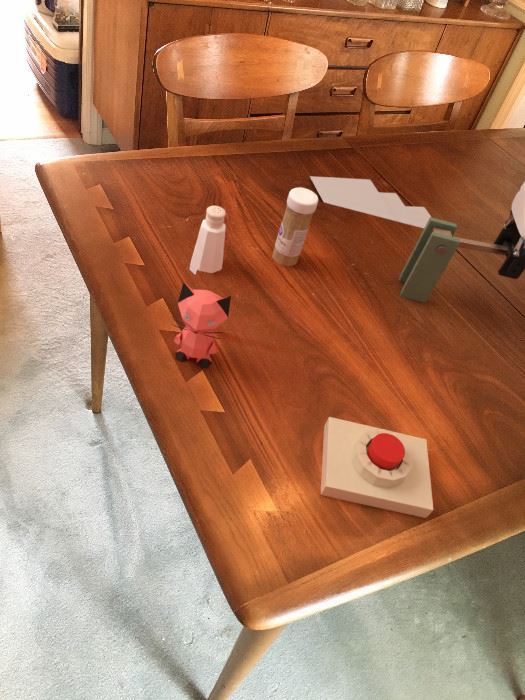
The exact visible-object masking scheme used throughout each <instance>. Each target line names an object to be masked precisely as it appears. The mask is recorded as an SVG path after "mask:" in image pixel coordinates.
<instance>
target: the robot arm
mask: <svg viewBox="0 0 525 700" xmlns="http://www.w3.org/2000/svg"><path fill="white" fill-rule="evenodd" d="M510 207H511V208H510V210H509V212H510V213H509V217H508V218H507V219H506V220H505V222H504V224H503V227H502V229H501V230H500V232H499V234H498V235H497V237H496V238H495V240H494V241H493V243H492V244H496V245H501V246H503V245H502V240H503V239H504V238H510V239H511V240H512V243H513V246H514V249H515V250H514V253H513V252H510V254H509V255H508V257H507V258H506V257H505V259H504V261H503V263H502V264H501V266H500V267H499V269H498V270H497V273H498V275H499V276H501V277H506V278H509V279H514V280H518V279H519V278H520V277H521V275H522V274H523V272H524V271H525V181H523V183H522V184H521V186H520V188H519V189H518V191H517V193H516V194H515V196H514V197H513V200H512V203H511V206H510Z"/></svg>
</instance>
